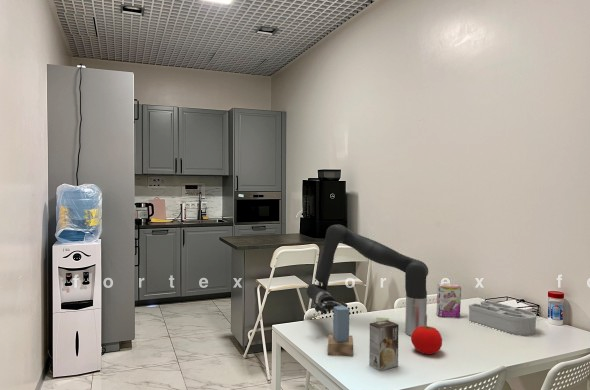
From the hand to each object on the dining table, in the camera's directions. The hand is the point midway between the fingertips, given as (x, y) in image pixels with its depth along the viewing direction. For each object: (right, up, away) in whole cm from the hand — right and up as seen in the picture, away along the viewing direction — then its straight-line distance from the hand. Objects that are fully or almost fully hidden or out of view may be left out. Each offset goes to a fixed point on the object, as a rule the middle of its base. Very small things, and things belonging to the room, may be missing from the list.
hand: (335, 311), depth 181 cm
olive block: (+19, -14, -8) cm, 25 cm away
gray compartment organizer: (+85, -15, +24) cm, 90 cm away
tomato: (+37, -15, -8) cm, 40 cm away
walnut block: (+1, -14, -8) cm, 16 cm away
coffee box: (+16, -15, -22) cm, 31 cm away
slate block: (+2, -9, -9) cm, 13 cm away
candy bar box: (+63, -14, +39) cm, 76 cm away
